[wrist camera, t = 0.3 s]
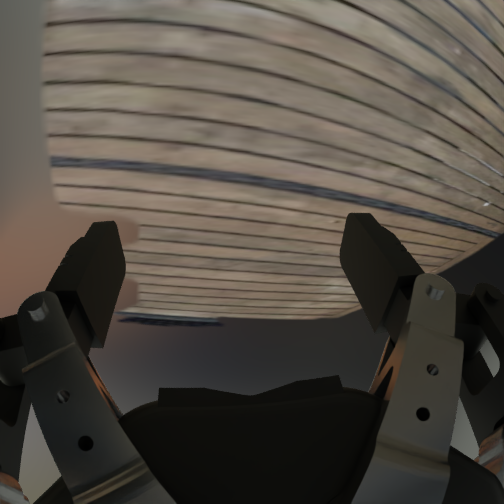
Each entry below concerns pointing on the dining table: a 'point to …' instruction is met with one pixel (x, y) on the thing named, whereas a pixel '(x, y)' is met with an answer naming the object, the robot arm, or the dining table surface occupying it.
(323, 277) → the dining table surface
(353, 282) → the robot arm
